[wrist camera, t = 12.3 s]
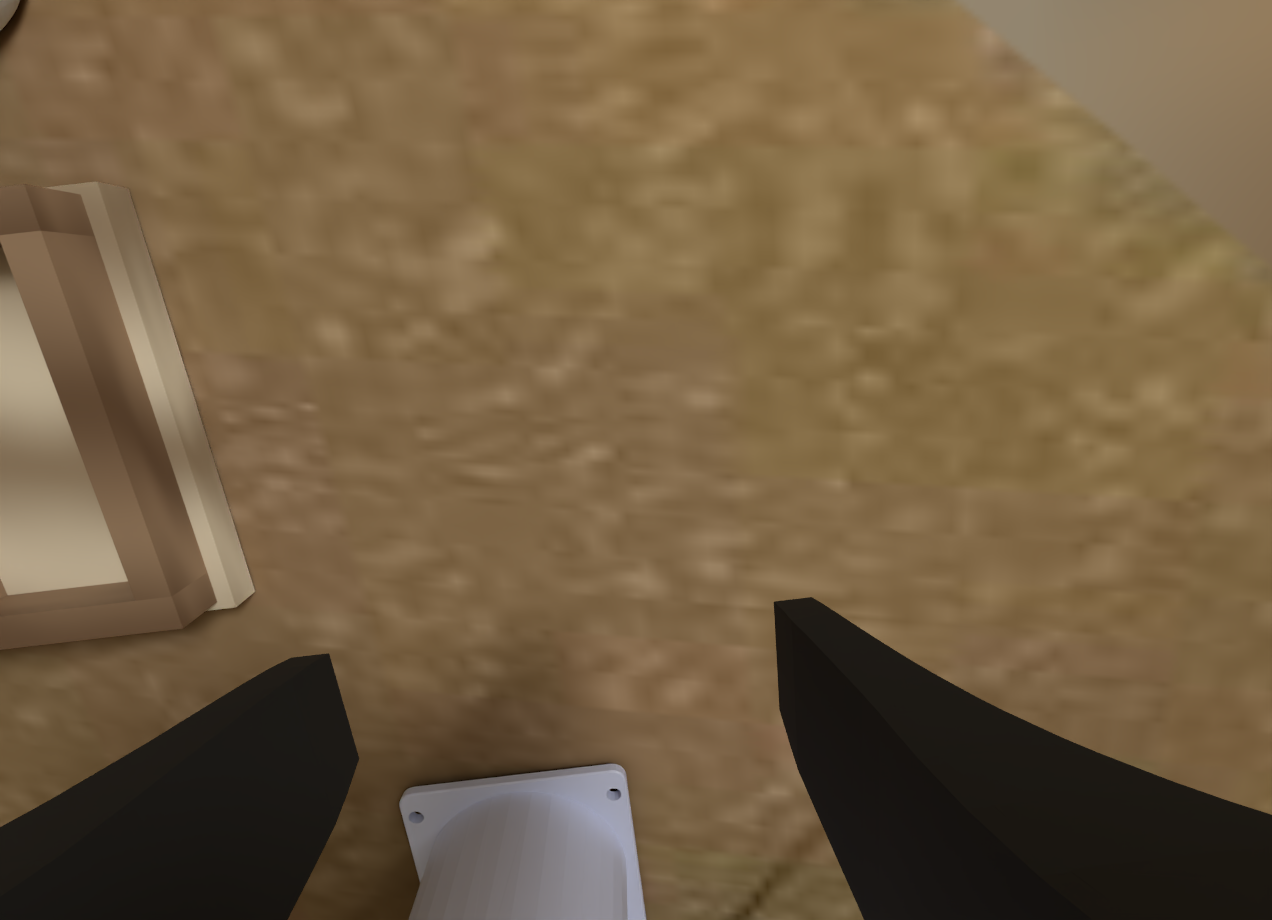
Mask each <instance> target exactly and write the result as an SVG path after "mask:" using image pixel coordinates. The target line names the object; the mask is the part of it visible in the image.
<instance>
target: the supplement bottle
mask: <svg viewBox="0 0 1272 920" xmlns="http://www.w3.org/2000/svg"><path fill="white" fill-rule="evenodd" d="M19 2H20V0H0V31H1V30H2V29H3V28H4V27H5V25H6V24H7V23H8V22H9V20H10V19H11V17H12V16H13V14H14V13H15V11H16V9H17V7H18V5H19Z"/></svg>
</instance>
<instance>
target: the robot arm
mask: <svg viewBox="0 0 1272 920" xmlns="http://www.w3.org/2000/svg"><path fill="white" fill-rule="evenodd" d="M774 613H775V632H776V651H777V669H778V688H779V707H780V712H781V716H782V719H783V722H784V726H785V729H786V732H787V736H788V739H789V742H790V746H791V749H792V752H793V755H794V758H795V761H796V764H797V768H798V770H799V773H800V775H801V777H802V780H803V782H804V784H805V787H806V789H807V791H808V794H809V796H810V798H811V800H812V803H813V805H814V807H815V810H816V812H817V814H818V816H819V819H820V821H821V823H822V826H823V828H824V830H825V832H826V835H827V837H828V839H829V841H830V844H831V846H832V848H833V850H834V853H835V855H836V857H837V859H838V862H839V864H840V866H841V868H842V871H843V873H844V875H845V877H846V880H847V882H848V884H849V886H850V889H851V891H852V893H853V895H854V898H855V900H856V902H857V904H858V907H859V909H860V911H861V913H862V916H863V918H864V920H1272V815H1270V814H1267V813H1264V812H1261V811H1258V810H1255V809H1252V808H1249V807H1246V806H1242V805H1239V804H1236V803H1233V802H1230V801H1227V800H1224V799H1221V798H1218V797H1215V796H1213V795H1210V794H1207V793H1204V792H1201V791H1198V790H1195V789H1193V788H1190V787H1187V786H1184V785H1181V784H1178V783H1175V782H1173V781H1170V780H1167V779H1164V778H1162V777H1159V776H1157V775H1154V774H1152V773H1149V772H1146V771H1144V770H1141V769H1139V768H1136V767H1133V766H1131V765H1128V764H1126V763H1123V762H1121V761H1118V760H1115V759H1113V758H1110V757H1108V756H1105V755H1102V754H1100V753H1097V752H1095V751H1093V750H1090V749H1088V748H1085V747H1083V746H1081V745H1078V744H1076V743H1073V742H1071V741H1069V740H1066V739H1064V738H1062V737H1059V736H1057V735H1055V734H1053V733H1051V732H1048V731H1046V730H1044V729H1042V728H1040V727H1038V726H1036V725H1033V724H1031V723H1029V722H1027V721H1025V720H1023V719H1020V718H1018V717H1016V716H1014V715H1012V714H1010V713H1007V712H1005V711H1003V710H1001V709H999V708H997V707H995V706H993V705H991V704H989V703H987V702H985V701H983V700H981V699H979V698H977V697H975V696H974V695H972V694H970V693H968V692H966V691H964V690H963V689H961V688H959V687H957V686H955V685H954V684H952V683H950V682H948V681H946V680H944V679H943V678H941V677H939V676H937V675H935V674H933V673H932V672H930V671H928V670H927V669H925V668H923V667H922V666H920V665H918V664H916V663H915V662H913V661H911V660H910V659H908V658H906V657H905V656H903V655H901V654H900V653H898V652H897V651H895V650H893V649H892V648H890V647H889V646H887V645H885V644H884V643H882V642H881V641H879V640H877V639H876V638H874V637H873V636H871V635H870V634H868V633H867V632H865V631H863V630H862V629H860V628H859V627H857V626H856V625H854V624H853V623H851V622H850V621H848V620H847V619H845V618H844V617H842V616H841V615H839V614H838V613H836V612H835V611H833V610H831V609H830V608H828V607H827V606H825V605H824V604H822V603H820V602H819V601H817V600H815V599H814V598H812V597H810V598H802V599H793V600H785V601H776V602H774ZM358 760H359V757H358V753H357V750H356V746H355V743H354V739H353V736H352V732H351V729H350V725H349V722H348V718H347V715H346V711H345V708H344V704H343V701H342V697H341V694H340V690H339V687H338V683H337V680H336V676H335V673H334V669H333V666H332V662H331V659H330V655H329V654H320V655H311V656H303V657H294V658H290V659H288V660H286V661H284V662H282V663H280V664H278V665H276V666H274V667H272V668H270V669H268V670H266V671H265V672H263V673H261V674H259V675H258V676H256V677H254V678H252V679H251V680H249V681H247V682H246V683H244V684H242V685H241V686H239V687H237V688H236V689H234V690H232V691H231V692H229V693H227V694H226V695H224V696H222V697H221V698H219V699H218V700H216V701H214V702H213V703H211V704H209V705H208V706H206V707H205V708H203V709H201V710H200V711H198V712H196V713H195V714H193V715H192V716H190V717H188V718H187V719H185V720H184V721H182V722H180V723H179V724H177V725H175V726H174V727H172V728H171V729H169V730H167V731H166V732H164V733H162V734H161V735H159V736H158V737H156V738H154V739H153V740H151V741H149V742H148V743H146V744H145V745H143V746H141V747H140V748H138V749H136V750H134V751H133V752H131V753H129V754H128V755H126V756H124V757H123V758H121V759H119V760H117V761H116V762H114V763H112V764H111V765H109V766H107V767H106V768H104V769H102V770H100V771H99V772H97V773H95V774H94V775H92V776H90V777H89V778H87V779H85V780H83V781H82V782H80V783H78V784H77V785H75V786H73V787H72V788H70V789H68V790H66V791H65V792H63V793H61V794H60V795H58V796H56V797H54V798H53V799H51V800H49V801H47V802H45V803H44V804H42V805H40V806H38V807H37V808H35V809H33V810H31V811H29V812H28V813H26V814H24V815H22V816H20V817H18V818H16V819H15V820H13V821H11V822H9V823H7V824H5V825H4V826H2V827H0V920H287V919H288V917H289V915H290V913H291V911H292V910H293V908H294V906H295V904H296V902H297V900H298V898H299V896H300V894H301V892H302V890H303V888H304V886H305V884H306V882H307V880H308V878H309V876H310V874H311V872H312V870H313V868H314V866H315V864H316V862H317V860H318V859H319V857H320V855H321V853H322V851H323V849H324V847H325V845H326V843H327V841H328V839H329V836H330V834H331V832H332V830H333V828H334V826H335V824H336V822H337V819H338V816H339V814H340V811H341V809H342V806H343V803H344V801H345V798H346V795H347V793H348V790H349V787H350V784H351V781H352V778H353V775H354V772H355V769H356V766H357V763H358ZM612 788H614V789H618V791H615V792H613V791H610V790H609V789H612ZM399 806H400V810H401V814H402V818H403V821H404V825H405V829H406V833H407V836H408V840H409V844H410V847H411V851H412V855H413V858H414V862H415V866H416V869H417V873H418V877H419V880H420V886H419V889H418V892H417V895H416V898H415V901H414V904H413V907H412V910H411V913H410V916H409V919H408V920H647V919H646V912H645V905H644V898H643V891H642V884H641V877H640V870H639V863H638V855H637V848H636V841H635V834H634V827H633V820H632V813H631V806H630V799H629V791H628V784H627V777H626V772H625V770H624V769H623V768H622V767H621V766H619V765H617V764H604V765H596V766H587V767H578V768H570V769H561V770H553V771H544V772H536V773H527V774H519V775H510V776H501V777H493V778H484V779H476V780H467V781H459V782H450V783H442V784H433V785H424V786H416V787H411V788H408V789H407V790H405V791H404V793H403V795H402V797H401V800H400V802H399ZM415 812H420V813H421V814H417V813H415Z"/></svg>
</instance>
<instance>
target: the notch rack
mask: <svg viewBox="0 0 1272 920" xmlns="http://www.w3.org/2000/svg"><path fill="white" fill-rule="evenodd" d="M254 592H255V590H254V586H253V583H252V580H251V577H250V574H249V571H248V567H247V564H246V561H245V558H244V555H243V551H242V548H241V545H240V542H239V539H238V536H237V532H236V529H235V526H234V523H233V520H232V517H231V513H230V510H229V507H228V504H227V501H226V497H225V494H224V491H223V488H222V485H221V482H220V478H219V475H218V472H217V469H216V466H215V462H214V459H213V456H212V453H211V450H210V447H209V443H208V440H207V437H206V434H205V431H204V427H203V424H202V421H201V418H200V415H199V412H198V408H197V405H196V402H195V399H194V396H193V392H192V389H191V386H190V383H189V380H188V377H187V373H186V370H185V367H184V364H183V361H182V357H181V354H180V351H179V348H178V345H177V342H176V338H175V335H174V332H173V329H172V326H171V322H170V319H169V316H168V313H167V310H166V307H165V303H164V300H163V297H162V294H161V291H160V287H159V284H158V281H157V278H156V275H155V272H154V268H153V265H152V262H151V259H150V256H149V253H148V249H147V246H146V243H145V240H144V237H143V233H142V230H141V227H140V224H139V221H138V218H137V214H136V211H135V208H134V205H133V202H132V198H131V195H130V192H129V189H128V188H125V187H120V186H116V185H111V184H106V183H102V182H88V183H80V184H71V185H62V186H53V187H45V188H43V187H37V186H32V185H27V184H20V185H11V186H3V187H0V650H3V649H12V648H21V647H29V646H38V645H46V644H55V643H64V642H72V641H81V640H90V639H98V638H107V637H115V636H124V635H133V634H141V633H150V632H158V631H167V630H176V629H183V628H184V627H186V626H187V625H188V624H190V623H191V622H192V621H194V620H195V619H196V618H197V617H199V616H200V615H201V614H203V613H204V612H205V611H210V610H218V609H227V608H235V607H237V606H238V605H240V604H241V603H242V602H243V601H244V600H246V599H247V598H248V597H249V596H251V595H252V594H253V593H254Z"/></svg>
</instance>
